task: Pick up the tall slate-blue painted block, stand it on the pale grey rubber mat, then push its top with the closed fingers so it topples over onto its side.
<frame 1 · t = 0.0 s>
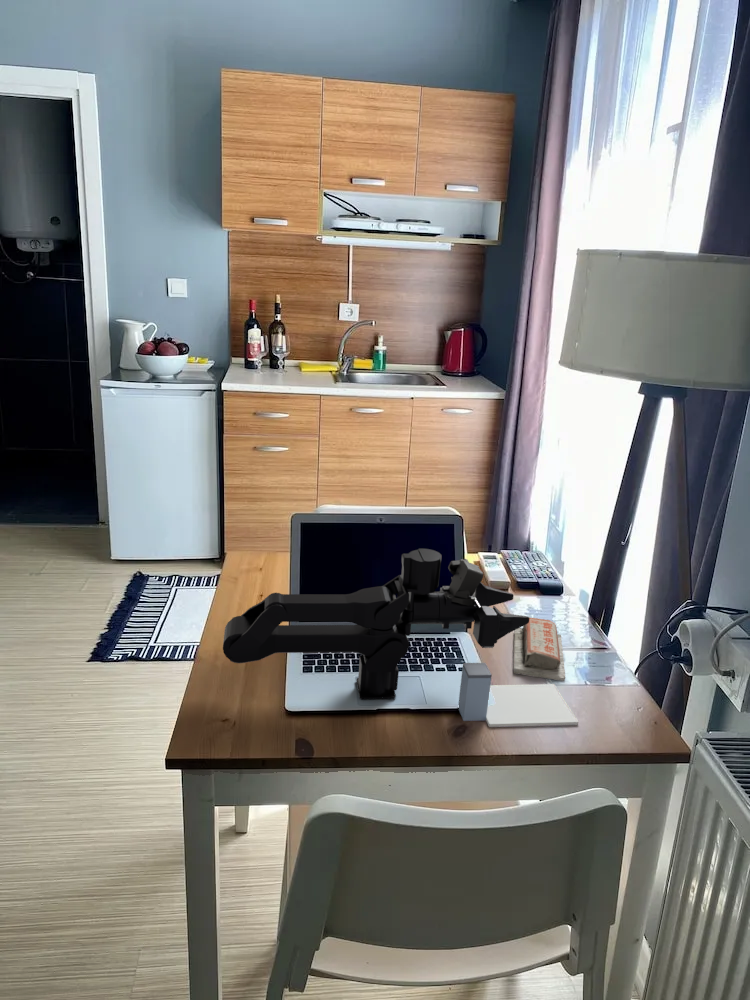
hand: (520, 607, 138), 17 cm above the table, tool horizontal, fingers open, 9 cm apart
mat: (523, 706, 137), on the table
packaged product: (537, 657, 156), on the table
block: (471, 713, 134), on the table
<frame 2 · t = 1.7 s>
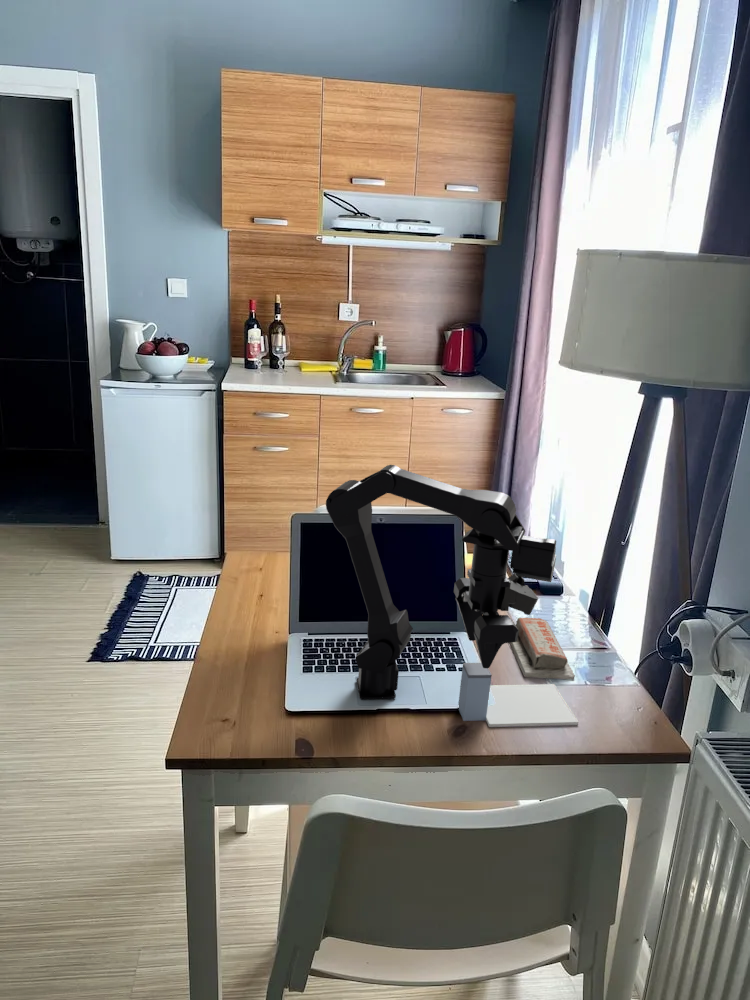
hand: (478, 653, 130), 12 cm above the table, tool pointing down, fingers open, 9 cm apart
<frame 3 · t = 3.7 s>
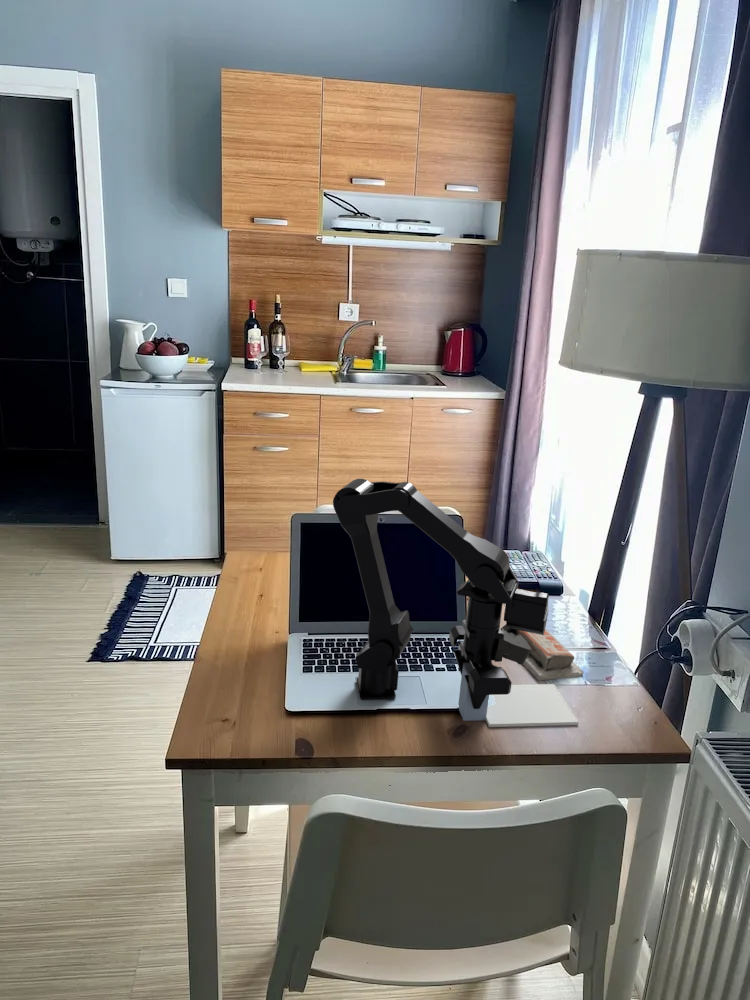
hand: (473, 701, 133), 3 cm above the table, tool pointing down, fingers closed on block, 4 cm apart
block: (471, 713, 134), on the table, touching gripper, mat
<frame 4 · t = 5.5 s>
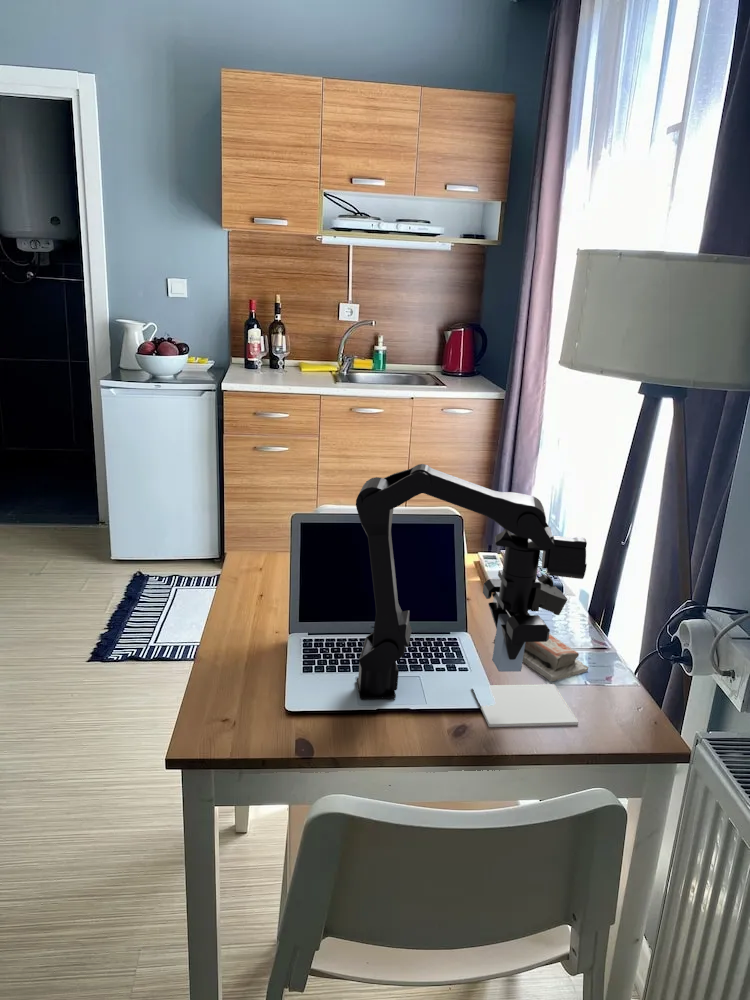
hand: (508, 652, 133), 11 cm above the table, tool pointing down, fingers closed on block, 4 cm apart
block: (506, 665, 134), point 8 cm above the table, touching gripper
when the fingers open (4 cm above the table, at t = 7.3 s): block drops 1 cm, resting on mat.
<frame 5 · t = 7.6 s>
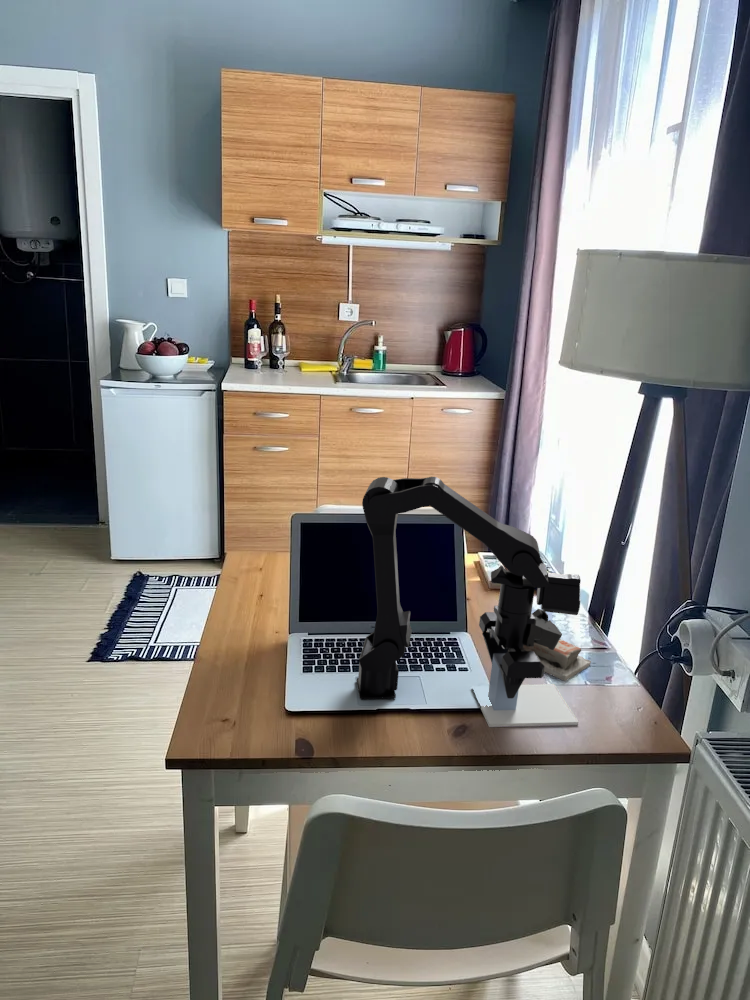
hand: (504, 686, 135), 4 cm above the table, tool pointing down, fingers open, 7 cm apart
block: (501, 703, 136), point 1 cm above the table, touching mat
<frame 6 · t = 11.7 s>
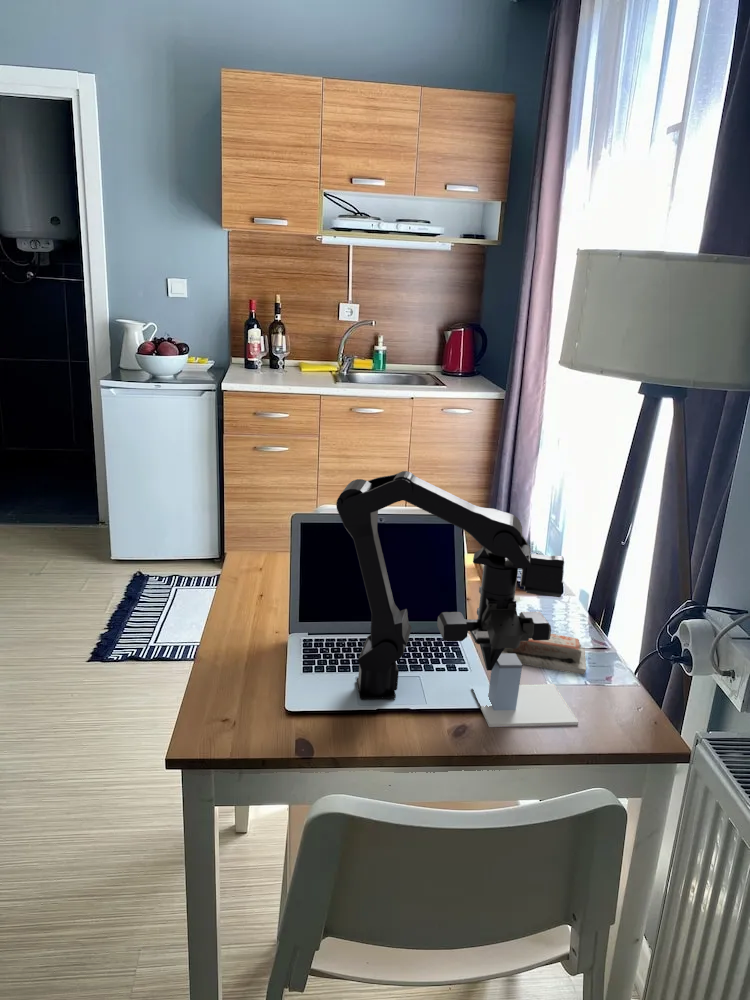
hand: (488, 669, 134), 8 cm above the table, tool pointing down, fingers closed
block: (501, 703, 136), point 1 cm above the table, touching gripper, mat
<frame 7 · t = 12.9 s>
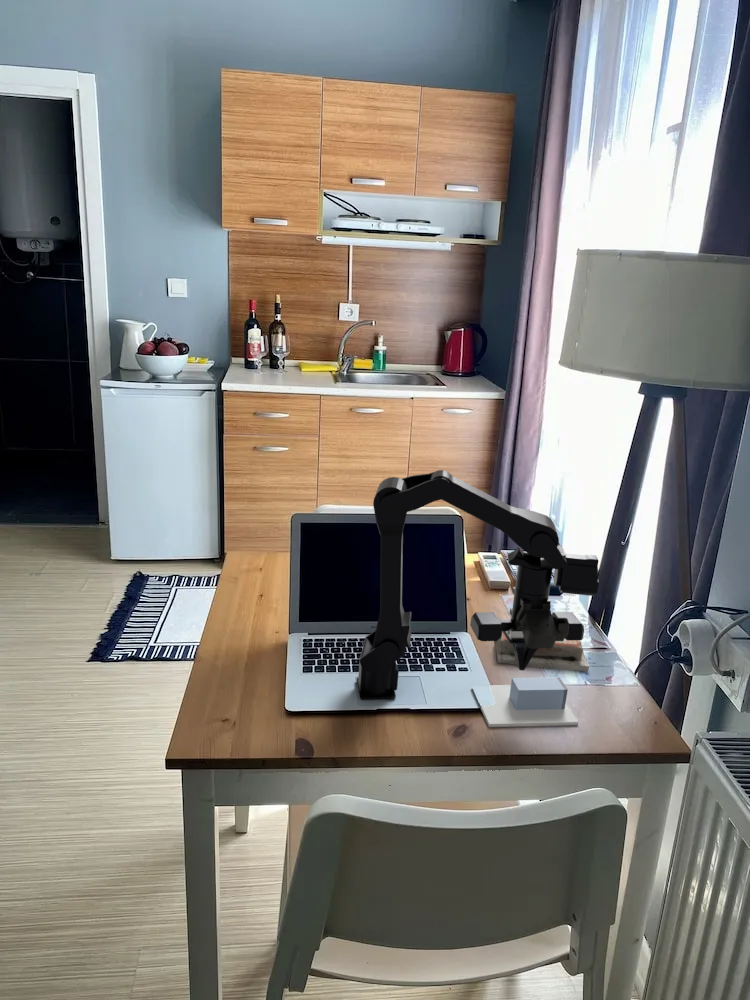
hand: (521, 669, 135), 8 cm above the table, tool pointing down, fingers closed
block: (513, 693, 136), point 3 cm above the table, tilted 90°, touching mat
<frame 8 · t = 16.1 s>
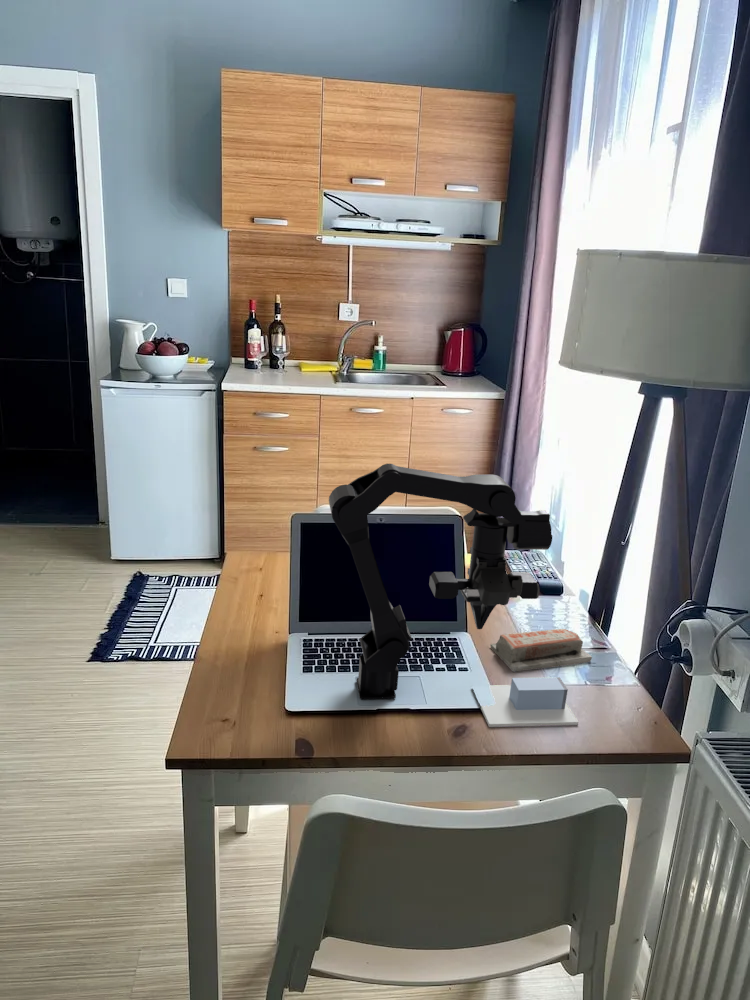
hand: (478, 628, 138), 12 cm above the table, tool pointing down, fingers closed
at the end: block tilted 90°; block inside the target area (3.0 cm from its centre), point 2.6 cm above the table; the gripper is holding nothing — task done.
